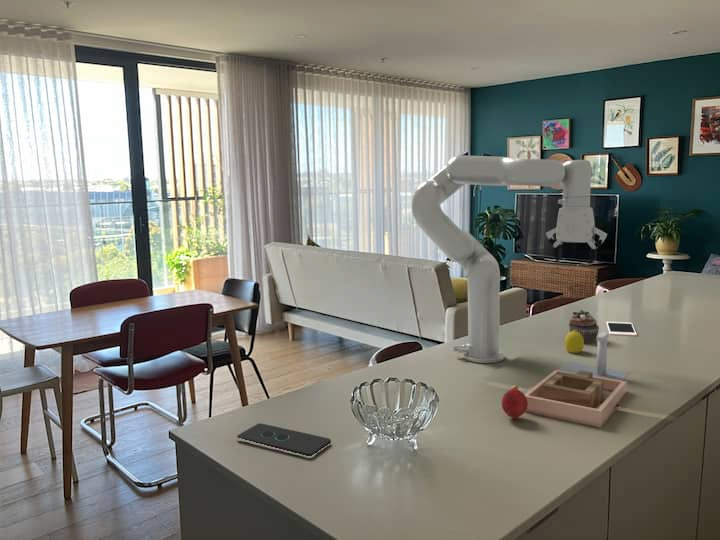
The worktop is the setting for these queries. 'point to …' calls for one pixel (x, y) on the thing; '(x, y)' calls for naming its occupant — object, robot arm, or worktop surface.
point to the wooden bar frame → (575, 389)
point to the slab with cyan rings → (285, 439)
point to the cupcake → (584, 326)
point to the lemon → (574, 342)
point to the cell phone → (621, 328)
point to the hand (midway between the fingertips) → (575, 261)
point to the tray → (571, 410)
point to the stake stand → (598, 363)
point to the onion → (514, 403)
